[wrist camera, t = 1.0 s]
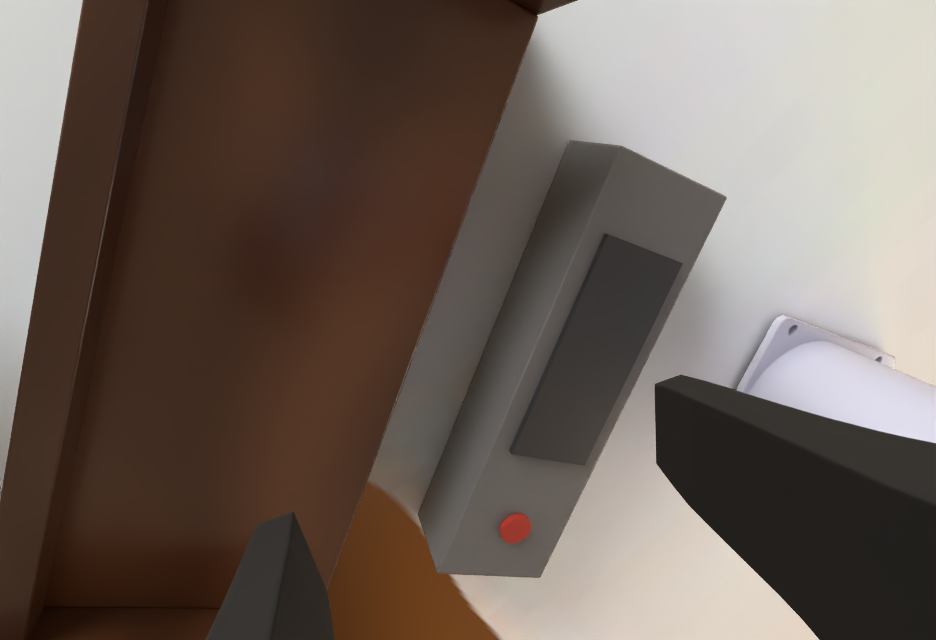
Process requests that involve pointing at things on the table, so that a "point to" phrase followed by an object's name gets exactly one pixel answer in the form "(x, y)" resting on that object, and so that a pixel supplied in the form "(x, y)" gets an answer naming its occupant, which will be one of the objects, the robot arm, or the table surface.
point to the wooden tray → (233, 288)
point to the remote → (563, 357)
